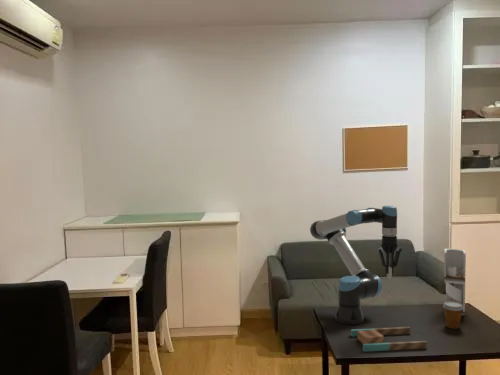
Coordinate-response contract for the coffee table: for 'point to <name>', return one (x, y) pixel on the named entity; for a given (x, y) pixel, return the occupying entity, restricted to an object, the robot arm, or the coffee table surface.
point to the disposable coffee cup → (452, 314)
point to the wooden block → (370, 336)
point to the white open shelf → (455, 276)
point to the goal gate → (373, 345)
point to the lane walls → (401, 344)
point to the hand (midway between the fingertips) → (389, 279)
